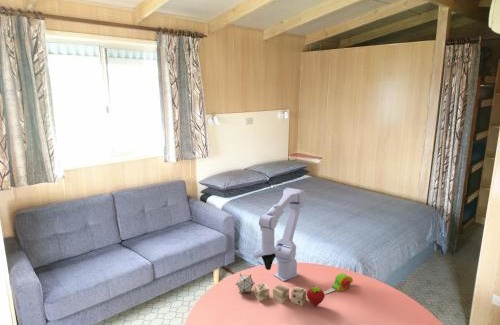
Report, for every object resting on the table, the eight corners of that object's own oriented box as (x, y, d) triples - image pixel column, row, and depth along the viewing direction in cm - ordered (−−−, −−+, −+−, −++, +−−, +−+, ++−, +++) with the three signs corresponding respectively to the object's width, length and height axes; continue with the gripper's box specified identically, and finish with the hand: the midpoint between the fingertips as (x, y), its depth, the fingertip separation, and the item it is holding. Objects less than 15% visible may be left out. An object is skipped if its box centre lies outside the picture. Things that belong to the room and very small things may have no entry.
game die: (246, 301, 156) (244, 292, 149) (233, 289, 160) (230, 280, 153) (259, 286, 160) (257, 277, 153) (245, 275, 164) (243, 266, 157)
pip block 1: (265, 293, 156) (265, 282, 155) (269, 299, 151) (269, 288, 150) (254, 295, 154) (254, 285, 153) (258, 301, 149) (258, 290, 148)
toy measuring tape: (357, 287, 159) (357, 274, 158) (323, 298, 151) (324, 285, 150) (347, 281, 165) (347, 268, 164) (314, 291, 156) (315, 278, 155)
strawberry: (324, 311, 142) (325, 289, 140) (306, 309, 143) (306, 287, 141) (324, 303, 147) (324, 281, 146) (306, 301, 149) (306, 280, 147)
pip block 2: (295, 296, 152) (295, 286, 152) (306, 299, 150) (306, 289, 149) (291, 302, 148) (291, 292, 147) (302, 306, 146) (302, 295, 145)
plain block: (280, 294, 155) (280, 284, 154) (289, 298, 151) (289, 288, 150) (273, 298, 151) (273, 288, 150) (281, 303, 148) (281, 293, 147)
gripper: (274, 234, 161) (274, 261, 164) (249, 241, 153) (249, 270, 155) (284, 239, 155) (284, 267, 158) (259, 247, 147) (259, 276, 150)
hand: (268, 269), depth 156 cm, fingers closed
